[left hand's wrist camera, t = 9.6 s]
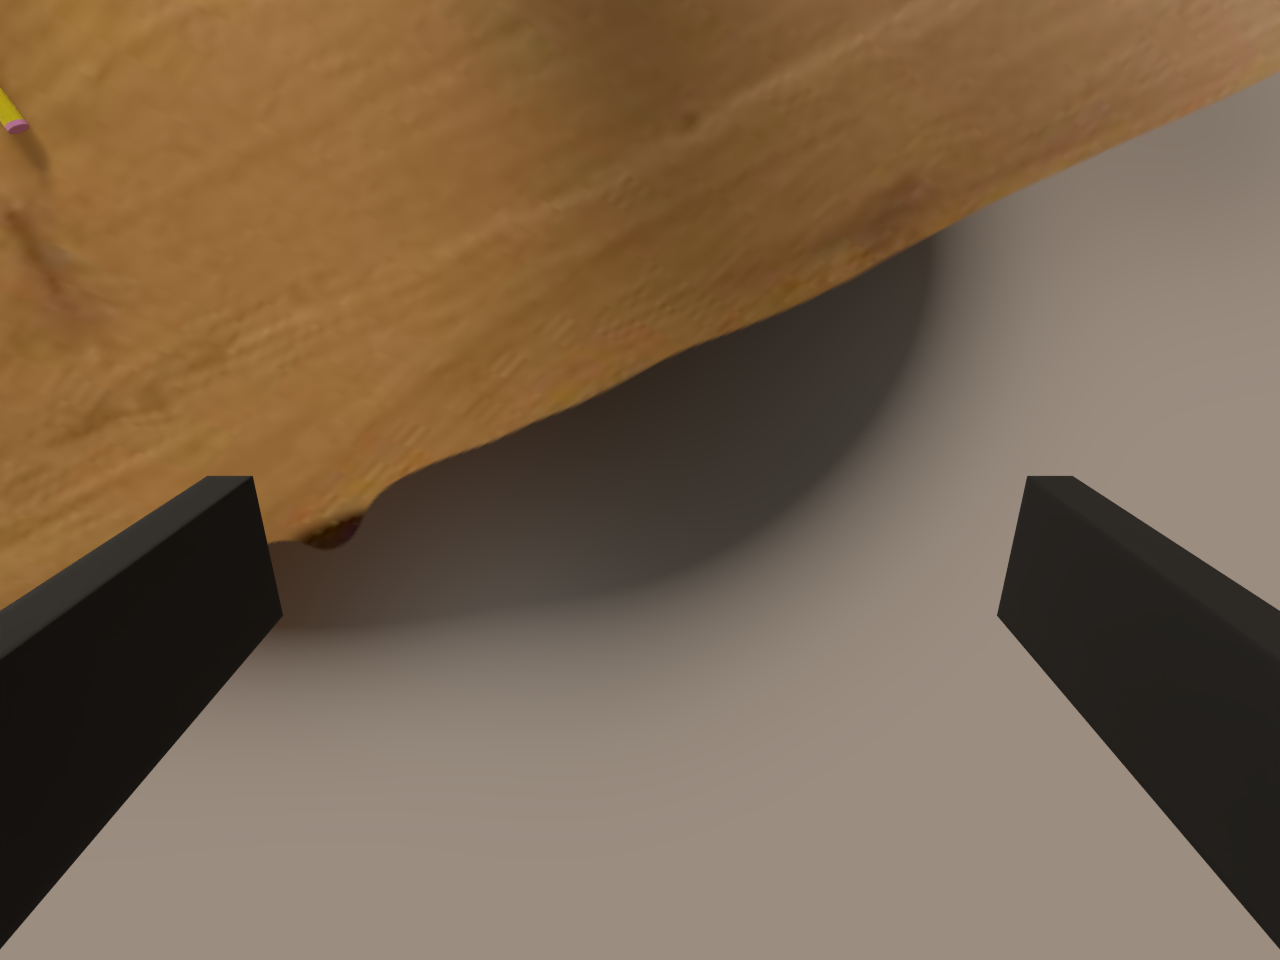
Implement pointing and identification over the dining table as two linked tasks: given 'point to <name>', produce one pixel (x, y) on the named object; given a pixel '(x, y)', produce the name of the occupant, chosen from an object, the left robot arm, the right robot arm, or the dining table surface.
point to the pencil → (11, 116)
